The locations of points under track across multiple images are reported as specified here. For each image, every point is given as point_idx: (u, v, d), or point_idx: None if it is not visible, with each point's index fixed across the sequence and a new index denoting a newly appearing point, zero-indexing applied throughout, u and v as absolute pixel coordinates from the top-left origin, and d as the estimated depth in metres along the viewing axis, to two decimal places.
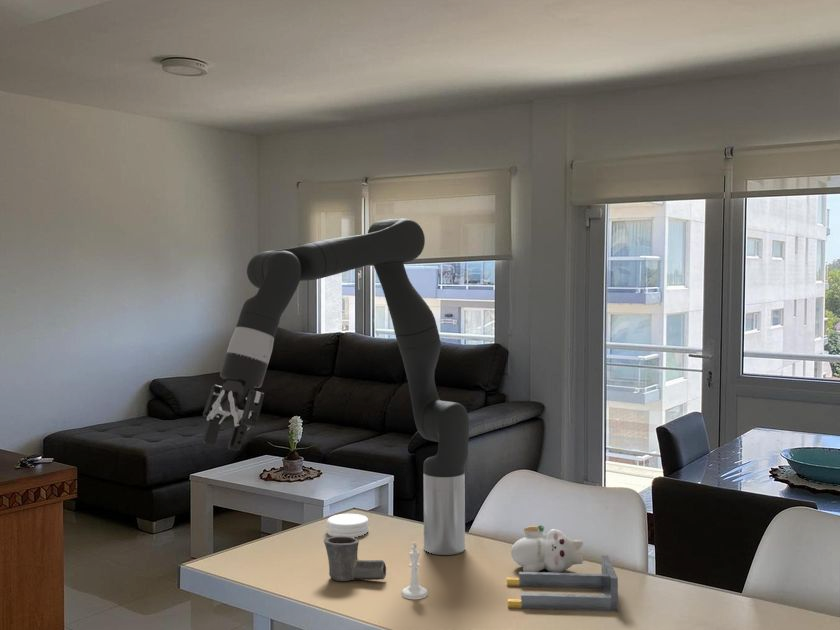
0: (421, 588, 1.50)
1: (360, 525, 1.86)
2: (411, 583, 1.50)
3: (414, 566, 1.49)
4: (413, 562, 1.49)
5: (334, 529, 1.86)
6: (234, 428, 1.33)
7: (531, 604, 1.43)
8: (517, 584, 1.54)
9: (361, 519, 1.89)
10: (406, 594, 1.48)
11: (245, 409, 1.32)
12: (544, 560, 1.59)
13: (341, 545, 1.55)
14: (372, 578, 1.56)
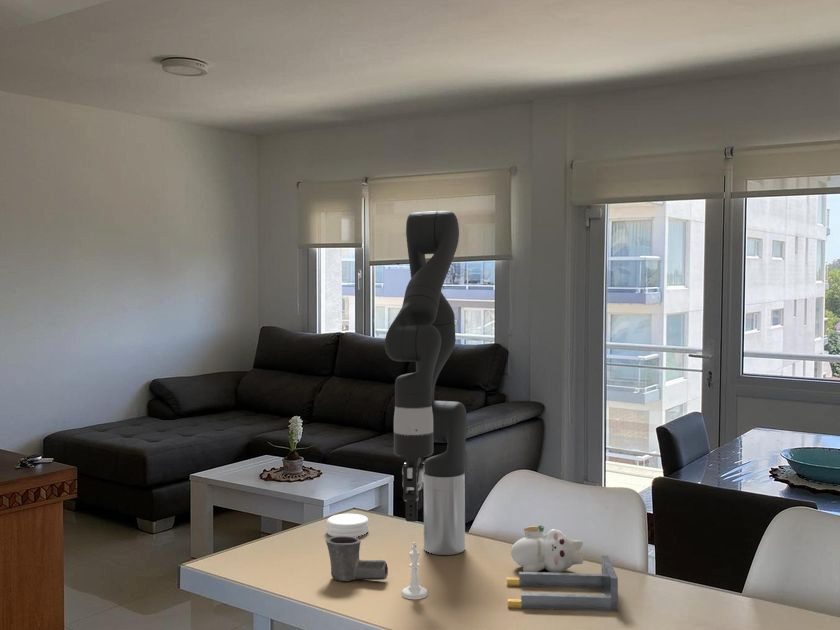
0: (421, 588, 1.50)
1: (360, 525, 1.86)
2: (411, 583, 1.50)
3: (414, 566, 1.49)
4: (413, 562, 1.49)
5: (334, 529, 1.86)
6: None
7: (531, 604, 1.43)
8: (517, 584, 1.54)
9: (361, 519, 1.89)
10: (406, 594, 1.48)
11: None
12: (544, 560, 1.59)
13: (343, 545, 1.56)
14: (374, 578, 1.56)
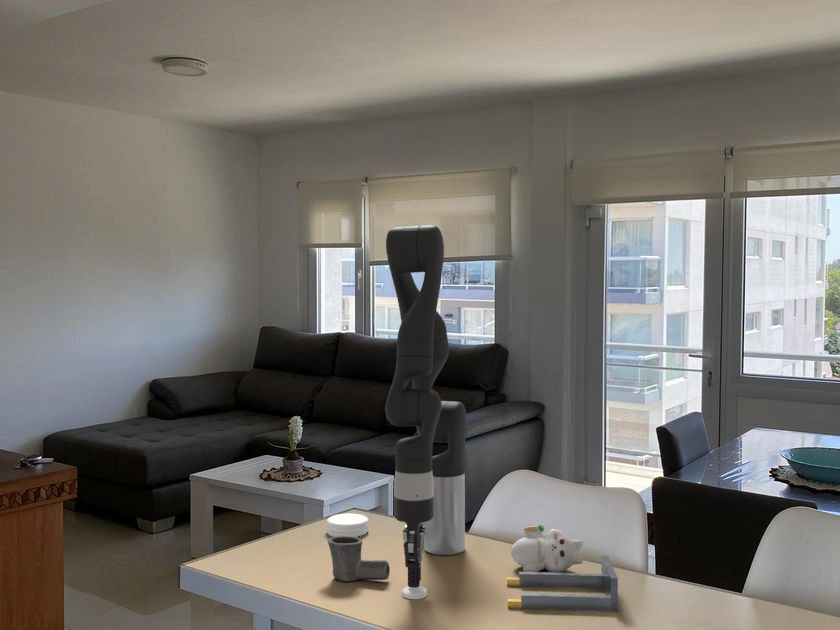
0: (421, 588, 1.50)
1: (360, 525, 1.86)
2: None
3: None
4: None
5: (334, 529, 1.86)
6: None
7: (531, 604, 1.43)
8: (517, 584, 1.54)
9: (361, 519, 1.89)
10: (406, 594, 1.48)
11: None
12: (544, 560, 1.59)
13: (344, 545, 1.55)
14: (375, 578, 1.56)
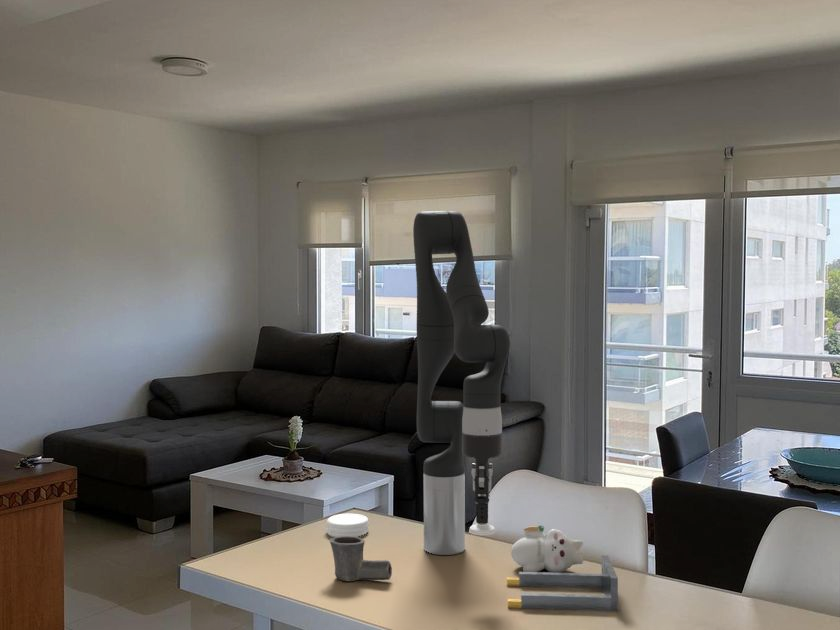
0: (489, 525, 1.50)
1: (360, 525, 1.86)
2: None
3: None
4: None
5: (334, 529, 1.86)
6: (476, 505, 1.48)
7: (531, 604, 1.43)
8: (517, 584, 1.54)
9: (361, 519, 1.89)
10: (474, 530, 1.48)
11: None
12: (544, 560, 1.59)
13: (346, 545, 1.55)
14: (377, 578, 1.56)
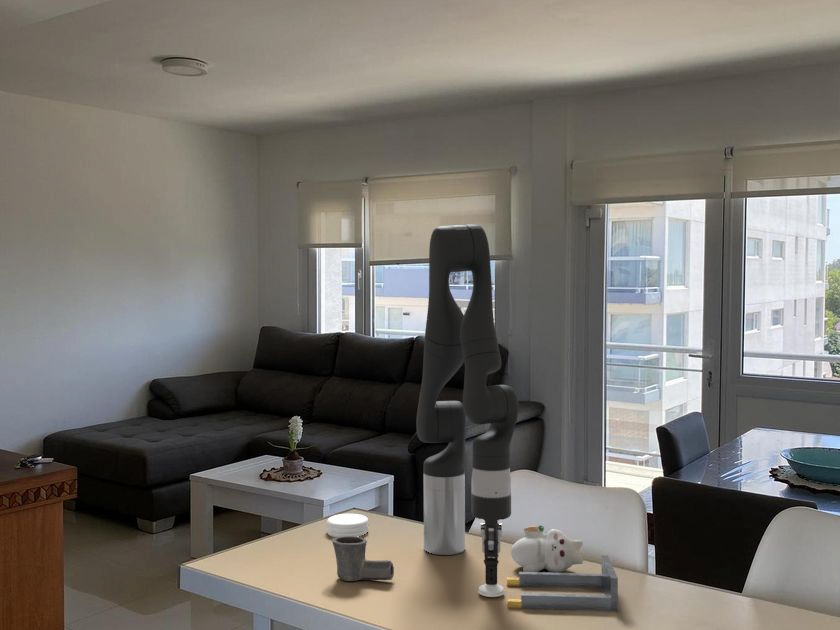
0: (498, 586, 1.50)
1: (360, 525, 1.86)
2: None
3: None
4: None
5: (334, 529, 1.86)
6: None
7: (531, 604, 1.43)
8: (517, 584, 1.54)
9: (361, 519, 1.89)
10: (484, 591, 1.48)
11: None
12: (544, 560, 1.59)
13: (349, 545, 1.55)
14: (379, 578, 1.56)
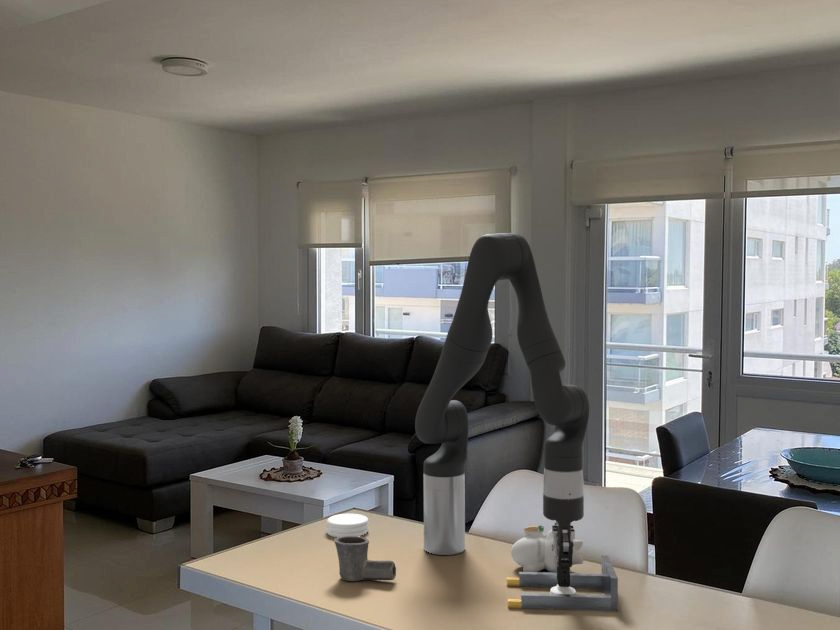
0: (570, 588, 1.48)
1: (360, 525, 1.86)
2: None
3: None
4: None
5: (334, 529, 1.86)
6: (558, 567, 1.47)
7: (531, 604, 1.43)
8: (517, 584, 1.54)
9: (361, 519, 1.89)
10: None
11: (558, 555, 1.44)
12: (544, 560, 1.59)
13: (351, 545, 1.55)
14: (382, 578, 1.56)
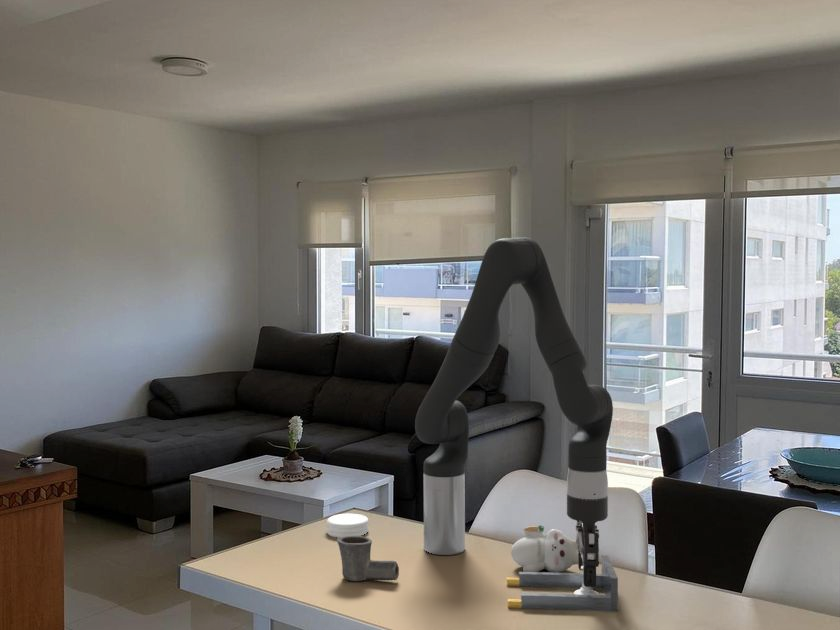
0: (593, 591, 1.48)
1: (360, 525, 1.86)
2: (583, 586, 1.48)
3: None
4: None
5: (334, 529, 1.86)
6: (583, 567, 1.44)
7: (531, 604, 1.43)
8: (517, 584, 1.54)
9: (361, 519, 1.89)
10: None
11: (584, 552, 1.42)
12: (544, 560, 1.59)
13: (353, 545, 1.55)
14: (384, 579, 1.56)
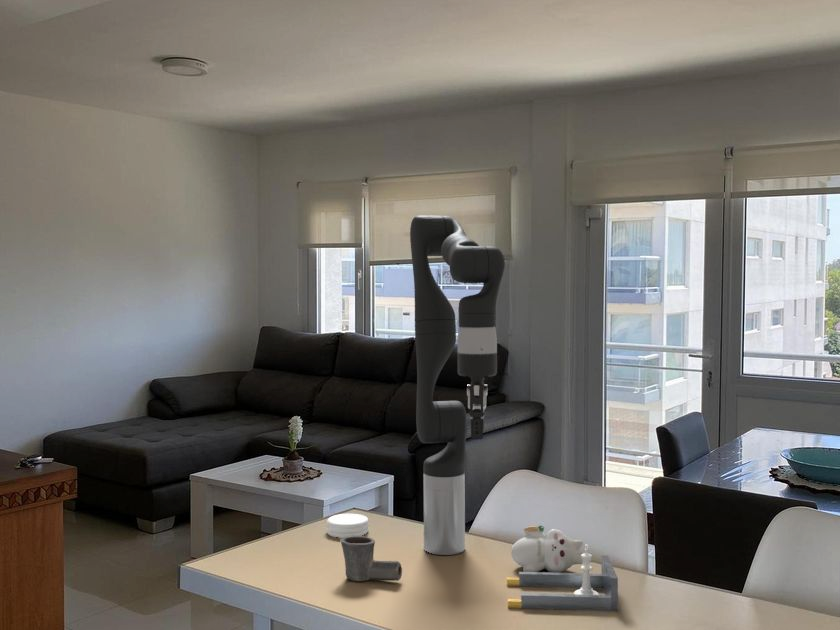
0: (593, 591, 1.48)
1: (360, 525, 1.86)
2: (583, 586, 1.48)
3: (587, 569, 1.47)
4: (586, 565, 1.47)
5: (335, 529, 1.86)
6: (471, 420, 1.47)
7: (531, 604, 1.43)
8: (517, 584, 1.54)
9: (361, 519, 1.89)
10: None
11: (470, 403, 1.45)
12: (544, 560, 1.59)
13: (356, 545, 1.55)
14: (387, 579, 1.56)
